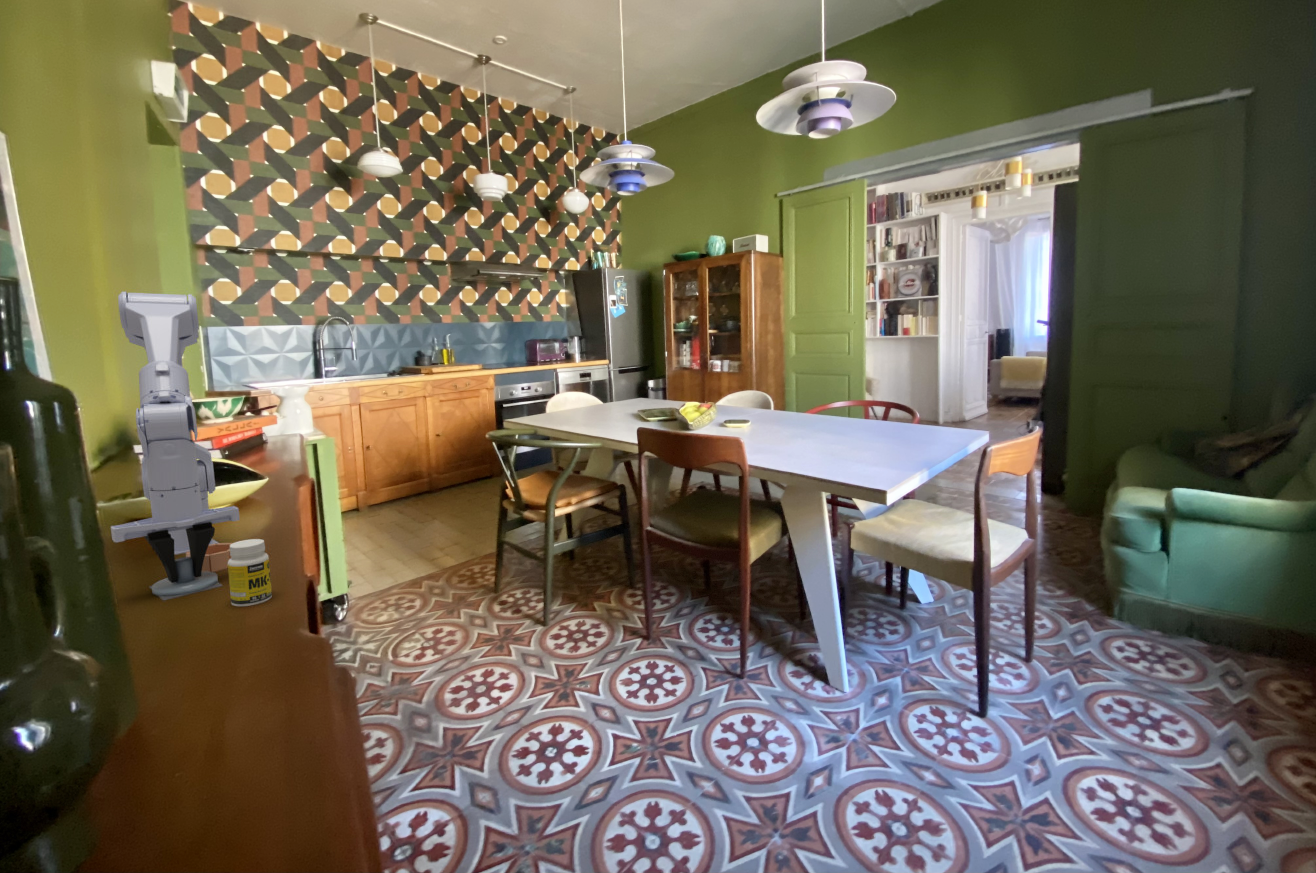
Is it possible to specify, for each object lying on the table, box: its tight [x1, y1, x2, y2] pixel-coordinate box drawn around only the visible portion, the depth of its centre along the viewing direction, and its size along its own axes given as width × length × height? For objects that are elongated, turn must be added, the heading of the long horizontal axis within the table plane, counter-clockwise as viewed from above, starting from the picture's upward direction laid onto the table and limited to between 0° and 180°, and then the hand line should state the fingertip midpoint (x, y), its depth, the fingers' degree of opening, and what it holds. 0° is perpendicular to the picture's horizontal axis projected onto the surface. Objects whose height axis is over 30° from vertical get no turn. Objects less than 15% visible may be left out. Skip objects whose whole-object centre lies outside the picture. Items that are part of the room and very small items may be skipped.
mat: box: [148, 581, 224, 602], centre depth 90 cm, size 8×7×1 cm
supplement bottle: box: [227, 538, 273, 607], centre depth 85 cm, size 5×5×8 cm
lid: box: [151, 556, 219, 597], centre depth 90 cm, size 8×8×4 cm
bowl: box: [185, 542, 234, 573], centre depth 99 cm, size 7×7×3 cm
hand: (185, 578), depth 90 cm, fingers closed on lid, 2 cm apart
